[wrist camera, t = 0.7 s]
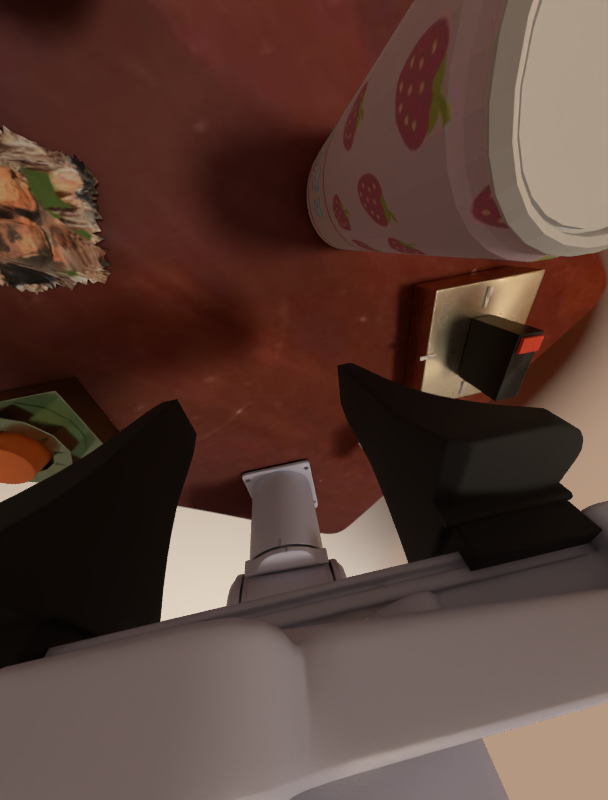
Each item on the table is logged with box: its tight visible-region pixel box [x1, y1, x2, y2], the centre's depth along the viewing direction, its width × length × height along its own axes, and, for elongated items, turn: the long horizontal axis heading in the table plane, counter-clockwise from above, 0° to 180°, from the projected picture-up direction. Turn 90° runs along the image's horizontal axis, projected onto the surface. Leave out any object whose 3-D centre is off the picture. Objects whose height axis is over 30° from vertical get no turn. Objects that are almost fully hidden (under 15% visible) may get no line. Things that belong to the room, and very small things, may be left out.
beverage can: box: [307, 0, 608, 262], centre depth 9 cm, size 6×6×15 cm
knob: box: [458, 315, 544, 401], centre depth 17 cm, size 5×2×4 cm, turn 9°
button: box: [0, 432, 52, 484], centre depth 17 cm, size 4×4×2 cm
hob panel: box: [404, 266, 545, 398], centre depth 20 cm, size 10×9×3 cm
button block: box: [0, 377, 119, 482], centre depth 19 cm, size 7×8×4 cm
